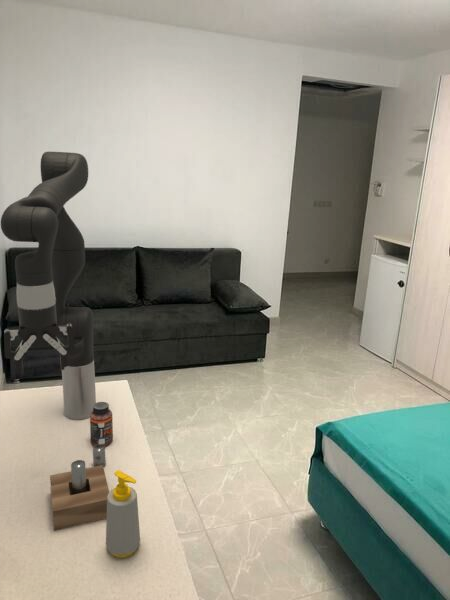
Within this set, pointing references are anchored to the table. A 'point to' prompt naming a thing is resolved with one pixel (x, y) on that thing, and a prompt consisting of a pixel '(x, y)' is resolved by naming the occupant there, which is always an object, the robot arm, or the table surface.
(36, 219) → the robot arm
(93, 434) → the supplement bottle
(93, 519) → the guide block
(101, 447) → the short pin
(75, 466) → the tall pin
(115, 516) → the soap bottle
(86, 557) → the table surface
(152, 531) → the table surface
